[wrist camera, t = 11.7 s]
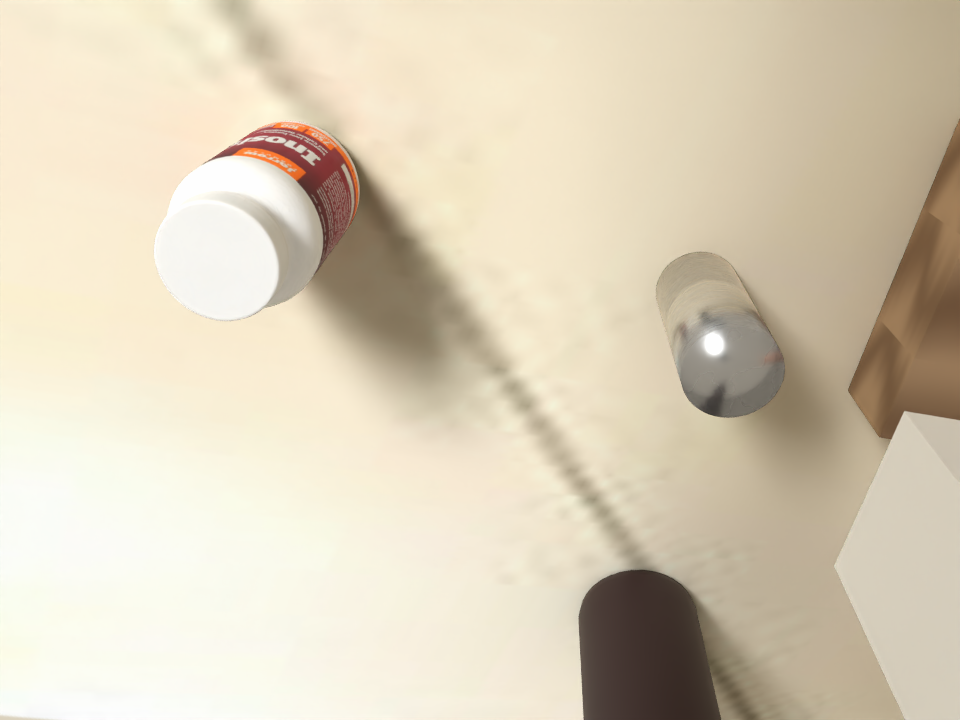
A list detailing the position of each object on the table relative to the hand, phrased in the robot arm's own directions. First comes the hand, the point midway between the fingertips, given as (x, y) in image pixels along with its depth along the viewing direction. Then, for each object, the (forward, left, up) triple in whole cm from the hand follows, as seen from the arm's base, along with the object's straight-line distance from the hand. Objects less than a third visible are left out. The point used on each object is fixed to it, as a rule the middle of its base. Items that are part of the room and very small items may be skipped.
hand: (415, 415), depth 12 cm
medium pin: (+8, +11, -29) cm, 32 cm away
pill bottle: (+6, -9, -29) cm, 31 cm away
